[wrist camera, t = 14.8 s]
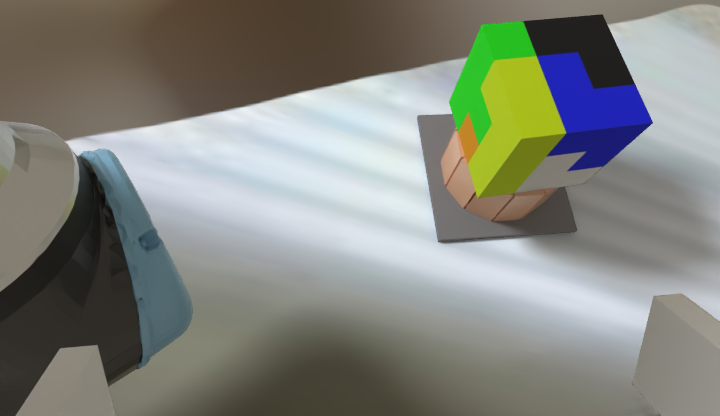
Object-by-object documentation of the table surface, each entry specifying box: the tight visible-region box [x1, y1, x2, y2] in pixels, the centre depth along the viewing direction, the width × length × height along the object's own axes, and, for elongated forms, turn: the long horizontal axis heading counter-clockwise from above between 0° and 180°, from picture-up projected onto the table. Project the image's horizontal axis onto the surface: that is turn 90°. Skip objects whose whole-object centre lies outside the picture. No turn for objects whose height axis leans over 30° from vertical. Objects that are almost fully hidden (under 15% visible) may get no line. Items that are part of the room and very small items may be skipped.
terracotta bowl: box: [441, 127, 559, 221], centre depth 49 cm, size 11×11×6 cm
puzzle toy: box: [449, 15, 653, 198], centre depth 41 cm, size 10×10×10 cm
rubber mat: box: [417, 114, 577, 242], centre depth 52 cm, size 14×14×1 cm
